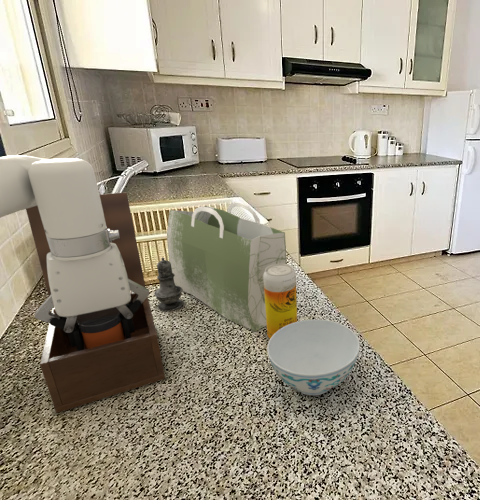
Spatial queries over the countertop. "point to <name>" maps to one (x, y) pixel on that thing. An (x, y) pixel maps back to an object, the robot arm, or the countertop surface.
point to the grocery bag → (224, 260)
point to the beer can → (280, 297)
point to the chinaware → (313, 354)
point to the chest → (101, 363)
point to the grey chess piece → (167, 288)
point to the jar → (101, 327)
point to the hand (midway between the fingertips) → (105, 341)
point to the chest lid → (115, 220)
